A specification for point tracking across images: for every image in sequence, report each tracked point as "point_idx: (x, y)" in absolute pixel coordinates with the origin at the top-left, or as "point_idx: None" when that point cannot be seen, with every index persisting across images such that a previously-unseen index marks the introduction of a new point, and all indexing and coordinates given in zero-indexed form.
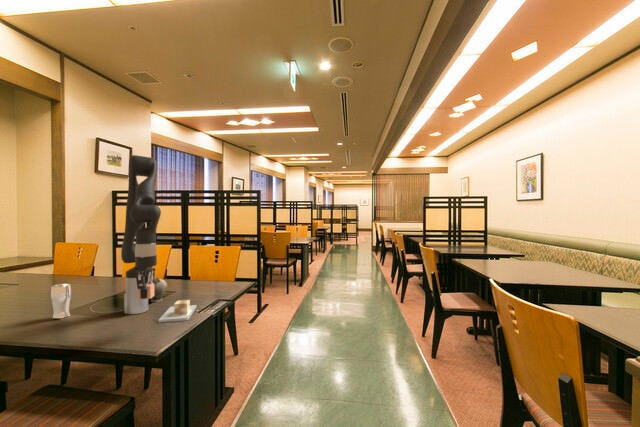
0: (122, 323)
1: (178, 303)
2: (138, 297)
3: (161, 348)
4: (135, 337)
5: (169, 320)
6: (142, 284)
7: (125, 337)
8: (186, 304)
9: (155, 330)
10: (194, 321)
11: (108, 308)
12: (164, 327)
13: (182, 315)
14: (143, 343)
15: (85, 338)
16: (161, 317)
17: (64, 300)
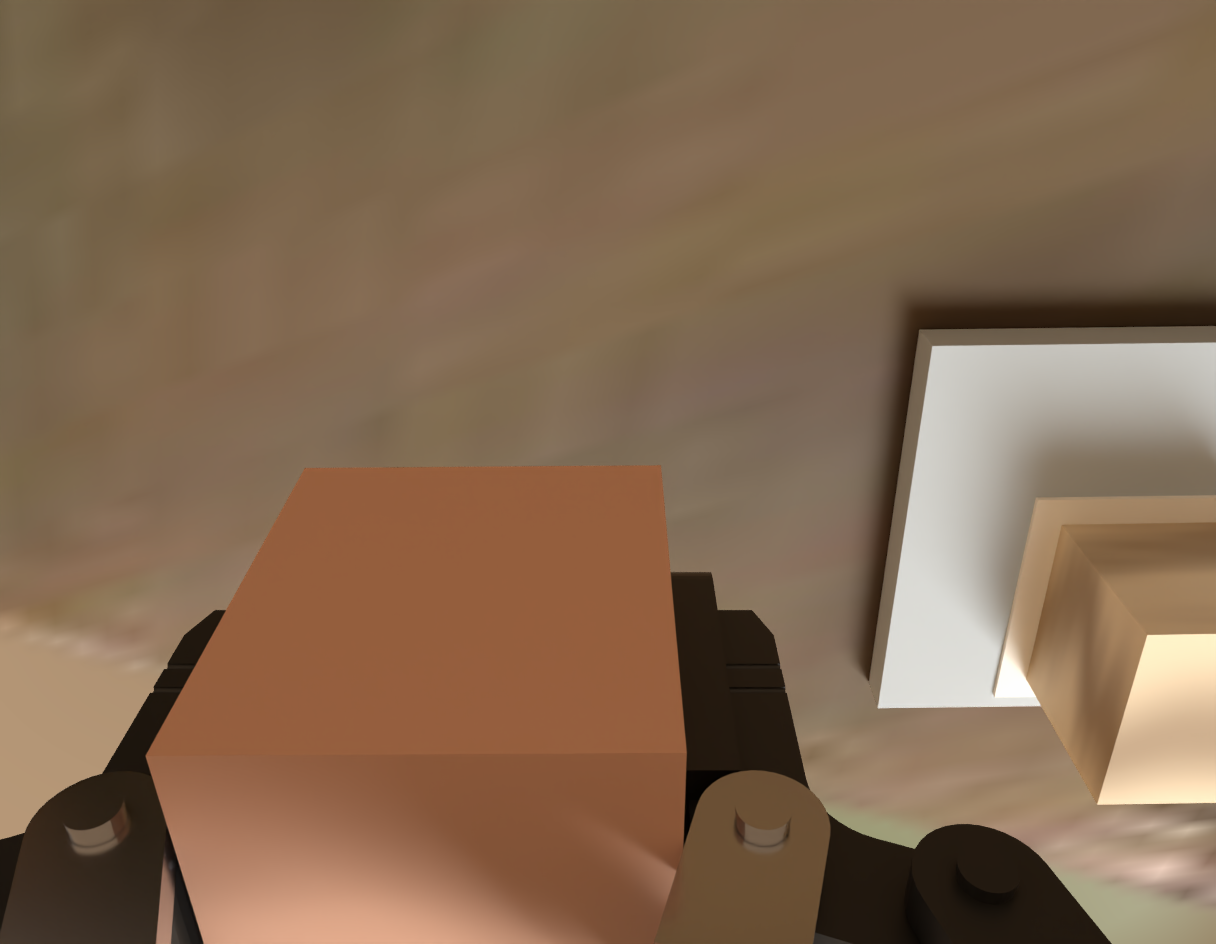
0: None
1: (1162, 688)
2: (291, 510)
3: (21, 621)
4: (357, 193)
5: (903, 486)
6: (585, 781)
7: (372, 25)
8: (1091, 783)
9: (587, 388)
10: (801, 757)
11: None
12: (678, 472)
13: (1006, 628)
14: (149, 384)
15: None
16: (1038, 358)
17: None
